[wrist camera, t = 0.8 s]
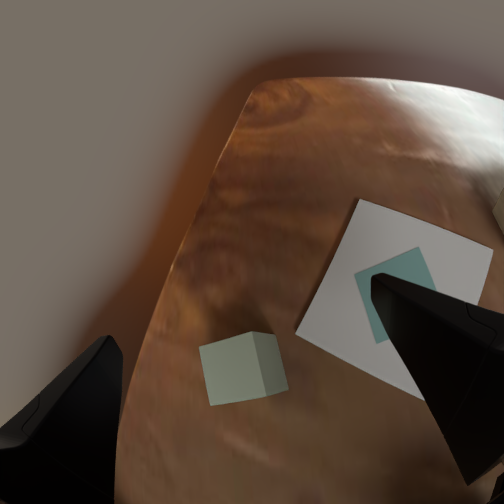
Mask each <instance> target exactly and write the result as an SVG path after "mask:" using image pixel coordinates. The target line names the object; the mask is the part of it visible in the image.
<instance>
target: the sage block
mask: <svg viewBox="0 0 504 504" xmlns="http://www.w3.org/2000/svg"><path fill="white" fill-rule="evenodd" d="M199 351H200V356H201V361H202V367H203V372H204V377H205V382H206V387H207V392H208V397H209V402H210V406H213V405H220V404H226V403H233V402H239V401H245V400H250V399H255V398H261V397H266V396H269V395H273V394H276V393H279V392H283V391H286V390H289V388H288V384H287V380H286V376H285V372H284V367H283V363H282V359H281V355H280V351H279V347H278V343H277V339H276V335H273V334H266V333H260V332H253V331H251V332H248V333H244V334H241V335H238V336H235V337H231V338H228V339H225V340H221V341H218V342H214V343H211V344H207V345H204V346H200V347H199Z"/></svg>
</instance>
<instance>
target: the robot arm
mask: <svg viewBox="0 0 504 504" xmlns="http://www.w3.org/2000/svg"><path fill="white" fill-rule="evenodd" d="M371 301H372V303H373V306H374V308H375V310H376V312H377V314H378V316H379V318H380V320H381V322H382V325H383V327H384V329H385V331H386V333H387V335H388V337H389V339H390V341H391V342H392V344H393V346H394V347H395V349H396V351H397V352H398V354H399V356H400V357H401V359H402V361H403V363H404V364H405V366H406V368H407V369H408V371H409V373H410V375H411V376H412V378H413V380H414V382H415V383H416V385H417V387H418V389H419V391H420V392H421V394H422V396H423V398H424V400H425V401H426V403H427V405H428V407H429V409H430V411H431V413H432V415H433V416H434V418H435V420H436V422H437V424H438V426H439V428H440V430H441V432H442V434H443V435H444V438H445V440H446V442H447V444H448V446H449V448H450V450H451V452H452V454H453V457H454V459H455V461H456V463H457V465H458V467H459V469H460V472H461V474H462V476H463V478H464V480H465V482H466V484H467V486H468V485H470V484H471V483H473V482H474V481H476V480H477V479H479V478H480V477H482V476H483V475H484V474H486V473H487V472H489V471H490V470H491V469H493V468H494V467H495V466H497V465H498V464H499V463H501V462H502V463H503V465H504V314H502V313H499V312H495V311H492V310H488V309H485V308H482V307H479V306H477V305H474V304H471V303H468V302H465V301H463V300H460V299H457V298H454V297H452V296H449V295H446V294H443V293H440V292H438V291H435V290H432V289H429V288H426V287H423V286H421V285H418V284H415V283H412V282H409V281H406V280H403V279H400V278H398V277H395V276H392V275H389V274H386V273H378V274H375V275H372V277H371ZM122 373H123V354H122V352H121V350H120V348H119V347H118V345H117V343H116V342H115V340H114V338H113V337H112V336H110V335H107V336H101V337H100V338H98V339H97V340H96V341H95V342H94V343H93V344H92V345H90V346H89V347H88V348H87V349H86V350H85V351H84V352H83V353H82V354H81V355H79V357H77V358H76V359H75V360H74V361H73V362H72V363H71V364H70V365H69V366H68V367H66V369H64V370H63V371H62V372H61V373H60V374H59V375H58V376H57V377H56V378H55V379H54V380H53V381H52V382H51V383H50V384H48V385H47V386H46V387H45V388H44V389H43V390H42V391H41V392H40V394H38V395H37V396H36V397H35V398H34V399H33V400H31V401H30V402H29V403H28V404H27V405H26V406H25V407H24V408H23V409H22V410H21V411H19V412H18V413H17V414H16V415H15V416H14V417H12V418H11V419H10V420H9V421H8V422H7V423H6V424H4V425H3V426H2V427H1V428H0V504H114V482H115V461H116V446H117V434H118V423H119V414H120V405H121V396H122ZM486 504H504V472H503V473H502V474H501V475H500V476H499V477H497V480H496V484H495V487H494V490H493V493H492V496H491V499H490V501H489V502H488V503H486Z"/></svg>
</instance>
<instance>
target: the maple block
mask: <svg viewBox="0 0 504 504" xmlns="http://www.w3.org/2000/svg"><path fill="white" fill-rule="evenodd" d="M492 213H493V215H494V217H495V219H496V221H497V223H498V225H499V227H500V229H501V231H502V233H503V235H504V188H503V190H502V193H501V195H500V197H499V199H498V201H497V203H496V205H495V207H494V208H493V210H492Z"/></svg>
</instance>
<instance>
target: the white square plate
mask: <svg viewBox="0 0 504 504" xmlns="http://www.w3.org/2000/svg"><path fill="white" fill-rule="evenodd" d="M492 254H493V250H492V249H490V248H488V247H485V246H483V245H481V244H479V243H476V242H474V241H472V240H469V239H467V238H464V237H462V236H460V235H457V234H455V233H452V232H450V231H447V230H445V229H442V228H440V227H437V226H435V225H432V224H430V223H427V222H424V221H422V220H419V219H416V218H414V217H411V216H408V215H405V214H403V213H400V212H397V211H394V210H391V209H388V208H385V207H383V206H380V205H377V204H374V203H371V202H368V201H364V200H361V199H359V202H358V204H357V207H356V209H355V211H354V214H353V216H352V218H351V220H350V223H349V225H348V227H347V229H346V232H345V234H344V236H343V238H342V240H341V243H340V245H339V247H338V249H337V251H336V253H335V256H334V258H333V260H332V262H331V264H330V266H329V268H328V270H327V272H326V274H325V277H324V279H323V281H322V283H321V285H320V287H319V289H318V291H317V293H316V295H315V297H314V299H313V301H312V303H311V305H310V307H309V308H308V310H307V312H306V314H305V316H304V318H303V320H302V322H301V324H300V326H299V328H298V329H297V331H296V333H295V334H296V335H298V336H300V337H302V338H303V339H305V340H307V341H309V342H311V343H312V344H314V345H316V346H318V347H320V348H322V349H323V350H325V351H327V352H329V353H331V354H333V355H335V356H337V357H338V358H340V359H342V360H344V361H346V362H348V363H350V364H352V365H354V366H356V367H357V368H359V369H361V370H363V371H365V372H367V373H369V374H371V375H373V376H375V377H377V378H379V379H381V380H383V381H385V382H387V383H389V384H391V385H393V386H395V387H397V388H399V389H401V390H403V391H405V392H407V393H409V394H411V395H414V396H416V397H418V398H420V399H422V400H424V398H423V396H422V394H421V392H420V391H419V389H418V387H417V385H416V383H415V382H414V380H413V378H412V376H411V375H410V373H409V371H408V369H407V368H406V366H405V364H404V363H403V361H402V359H401V357H400V356H399V354H398V352H397V351H396V349H395V347H394V346H393V344H392V342H391V341H390V339H389V337H388V335H387V333H386V331H385V329H384V327H383V325H382V322H381V320H380V318H379V316H378V314H377V312H376V310H375V308H374V306H373V303H372V301H371V277H372V275H375V274H378V273H386V274H389V275H392V276H395V277H398V278H400V279H403V280H406V281H409V282H412V283H415V284H418V285H421V286H423V287H426V288H429V289H432V290H435V291H438V292H440V293H443V294H446V295H449V296H452V297H454V298H457V299H460V300H463V301H465V302H468V303H471V304H474V305H477V304H478V301H479V298H480V295H481V292H482V289H483V286H484V283H485V279H486V276H487V272H488V269H489V265H490V262H491V258H492ZM424 401H425V400H424Z"/></svg>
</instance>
